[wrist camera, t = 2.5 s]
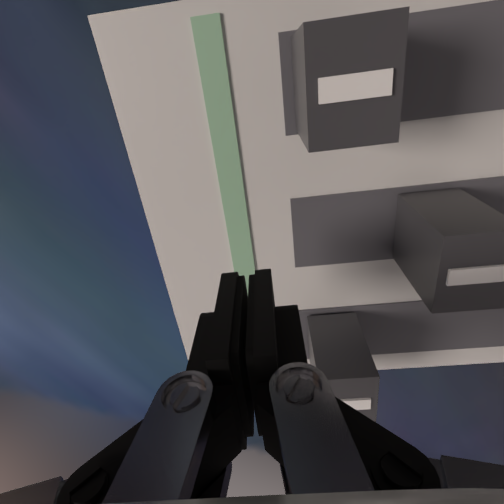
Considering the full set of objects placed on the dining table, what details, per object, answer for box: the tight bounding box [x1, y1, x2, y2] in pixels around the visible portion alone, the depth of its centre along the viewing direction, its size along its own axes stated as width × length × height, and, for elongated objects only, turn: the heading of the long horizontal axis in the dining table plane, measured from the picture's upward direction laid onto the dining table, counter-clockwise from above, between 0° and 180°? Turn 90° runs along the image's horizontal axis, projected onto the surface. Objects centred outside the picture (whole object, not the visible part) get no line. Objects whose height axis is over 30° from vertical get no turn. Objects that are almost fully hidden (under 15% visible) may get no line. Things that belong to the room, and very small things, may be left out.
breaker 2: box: [307, 313, 380, 422], centre depth 16 cm, size 2×3×4 cm
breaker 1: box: [291, 6, 410, 153], centre depth 10 cm, size 2×3×4 cm
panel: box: [88, 0, 504, 370], centre depth 15 cm, size 24×18×2 cm
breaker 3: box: [393, 188, 504, 314], centre depth 13 cm, size 2×3×4 cm
